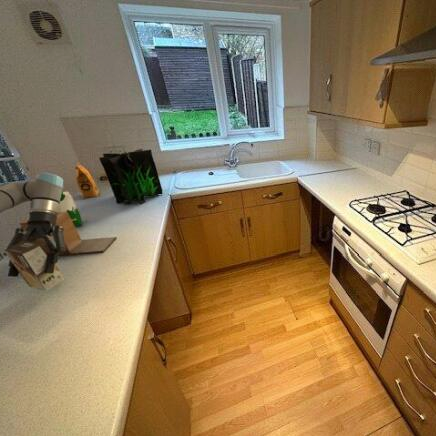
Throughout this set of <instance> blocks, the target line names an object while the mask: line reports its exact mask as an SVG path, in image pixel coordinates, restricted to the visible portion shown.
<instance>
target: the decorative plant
mask: <svg viewBox="0 0 436 436" xmlns="http://www.w3.org/2000/svg"><path fill="white" fill-rule="evenodd" d="M98 159H99V162H100V164H101V166H102V168H103V170H104V173H105V176H106V178H107V180H108V183H109V186H110V188H111V191H112V193H113V196H114V199H115V202H116V203H117V204H118V205H119V204H123V203H124V201H125V204H124V206H127V205H128V206H130V205H131V204H133V202H134V201H136V200H139V202H140V205H142V204H144V203H146V202H145V201H146V199H145V198H146V197H144V196H149V197H156V196H155V195H157V196H159V195H158V194H163V193H164V192H163V187H162V184H161V180H160V176H159V173H158V169H157V166H156V162H155V161H154V157H153V153H152V149H145V150H144V149H143V148H139V149H136V150H134V151H129V152H127V151H126V150H125V151H124V152H122V153H102V157H101V156H99V157H98ZM163 195H164V194H163ZM135 199H136V200H135ZM133 200H134V201H133ZM143 202H144V203H143Z"/></svg>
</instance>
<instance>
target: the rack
mask: <svg viewBox="0 0 436 436" xmlns="http://www.w3.org/2000/svg"><path fill="white" fill-rule="evenodd" d="M19 225H20V226H19V228H20V229H24V228H26V227H27V226H28V223H27V218H26V219H25V220H23V221H21V222H19ZM56 225H58V226H61V227H64V231H63V236H64V241H65V247H66V251H65V252H62V253H60V254H59V256H58V258H59V257H68V256H82V255H92V254H103V253H105V252H106V251H107V250H108V248H109V247H110V246H111V245H112V244H113V243H114V242H115V241H116V240H117V236H113V237H112V236H111V237H100V238H99V237H98V238H97V237H96V238H86V239H82V238H81V236H80V234H79V232H78V230H77V227H75V226H74V224H73V222H72V220H71V218H70V216H69V214H68V212H58V214H57V221H56V224H55V225H54V226H56ZM26 233H27V232H26ZM51 234H52V235H53V237H54V238H53V239H54V241H55V236H54V231H53V232H52V233H51ZM29 238H31V237H30V236H29ZM33 242H35V243H41V244H44V246H45V247H46V249H47V251H48V252H50V250H49V248H48V246H47V244H46V242H45V240H44V239H43V238H40V239H36V240H35V241H33ZM55 243H56V242H55ZM49 254H52V253H49Z"/></svg>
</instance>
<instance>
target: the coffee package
mask: <svg viewBox="0 0 436 436" xmlns="http://www.w3.org/2000/svg"><path fill="white" fill-rule="evenodd" d="M74 169H75V170H76V172H75V181H76V185H77V187H78V190H79V191H80V193H81V195H82V197H83V199H87V198H88V199H89V198H95V197H98V194H100V191H99V189H98V187H97V184H96V181H95V180H94V178H93V177H92V175H91V174H90V172H89V171H88V170H87V168H86V167H84V166H83V165H81V164H80V163H76V165H75V167H74Z"/></svg>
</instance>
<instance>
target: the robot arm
mask: <svg viewBox="0 0 436 436" xmlns="http://www.w3.org/2000/svg"><path fill="white" fill-rule="evenodd" d="M63 190H64V179H63V178H62V177H61V176H59V175H57V174H53V173H49V172H40V173H38V174H37V175H36V177H35V180H24V181H7V182H0V214H1V213H3V212H5V211H7V210H10V209H12V208H14V207H16V206H19V205H21V204H23V203H26V202H30V205H29V209H28V213H27V218H26V219H27V223H28V226H27V227H26V228H24V229H20V227H17V228H15V231H14V235H13V237H12V238H11V240H10V242H9V243H8V246H7V247H6V249H8V248H10V247H12V246H14V245H16V244H18V243H21V242H23V241H30V242H33V241H35V240H36V239H40V238H43V239H44V240H45V242H46V244H47V246H48V248H49V250H50V252H49V253H52V254H48V256H47V261H46V266H45V272H44V273H54V267H55V264H58V261H59V257H60V256H59V254H60V253H62V252H65V251H66V247H65V241H64V236H63V231H64V227H61V226H58V225H56V226H54V225H55V224H56V221H57V214H58V209H59V204H60V198H61V194H62V192H63ZM53 231H54V236H55V241H54V239H53V238H54V237H53V235H52V234H51V233H52V232H53ZM26 232H27V233H26ZM29 236H30V237H31V238H29ZM55 242H56V243H55ZM3 256H6V257H8V256H7V254H6V253H5V252H4V251H3ZM58 256H59V257H58ZM7 266H8V267H9V269H8V273H7V277H15V278H16V277H17V278H18V277H19V275H20V273H19V272H18V270H17V269H16V267H15V266H14V264H13V263H12V262H11V260H10V259H9V260H8V265H7Z"/></svg>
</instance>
